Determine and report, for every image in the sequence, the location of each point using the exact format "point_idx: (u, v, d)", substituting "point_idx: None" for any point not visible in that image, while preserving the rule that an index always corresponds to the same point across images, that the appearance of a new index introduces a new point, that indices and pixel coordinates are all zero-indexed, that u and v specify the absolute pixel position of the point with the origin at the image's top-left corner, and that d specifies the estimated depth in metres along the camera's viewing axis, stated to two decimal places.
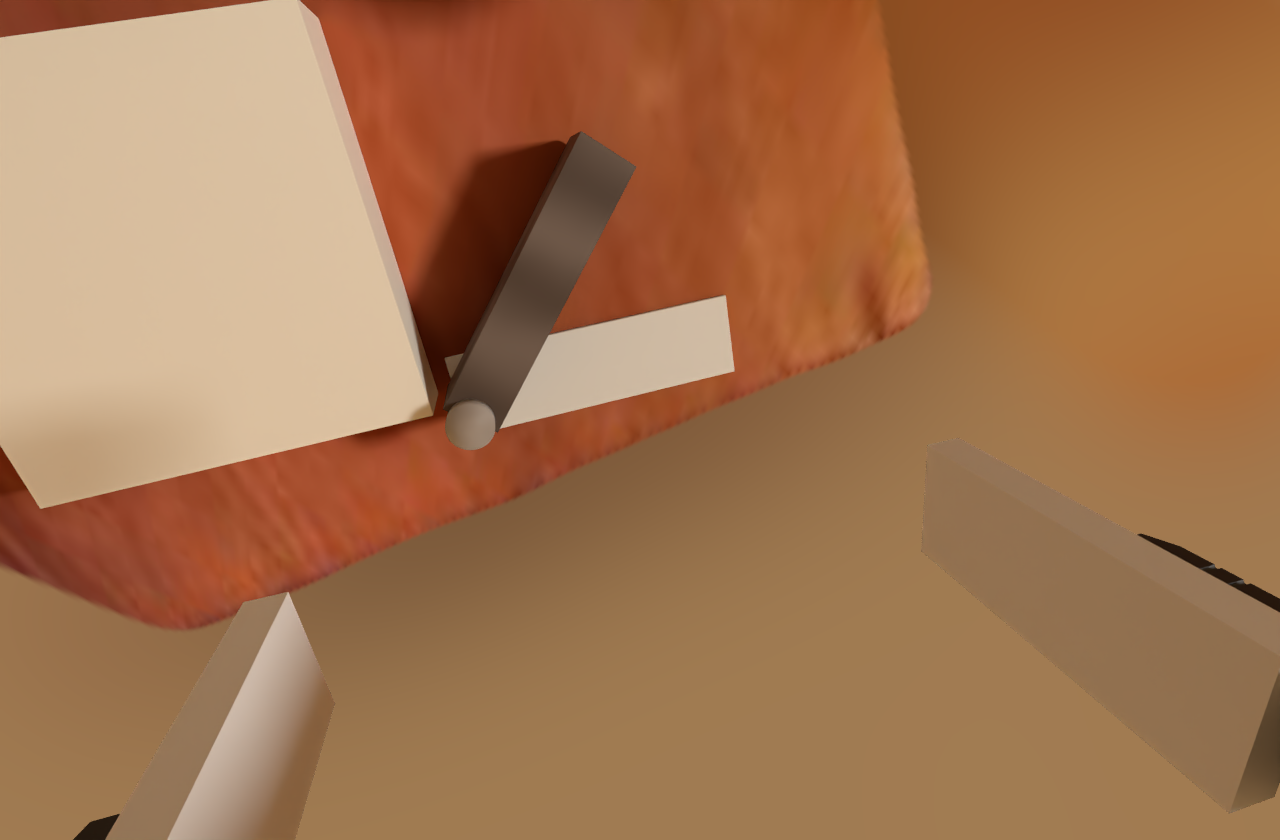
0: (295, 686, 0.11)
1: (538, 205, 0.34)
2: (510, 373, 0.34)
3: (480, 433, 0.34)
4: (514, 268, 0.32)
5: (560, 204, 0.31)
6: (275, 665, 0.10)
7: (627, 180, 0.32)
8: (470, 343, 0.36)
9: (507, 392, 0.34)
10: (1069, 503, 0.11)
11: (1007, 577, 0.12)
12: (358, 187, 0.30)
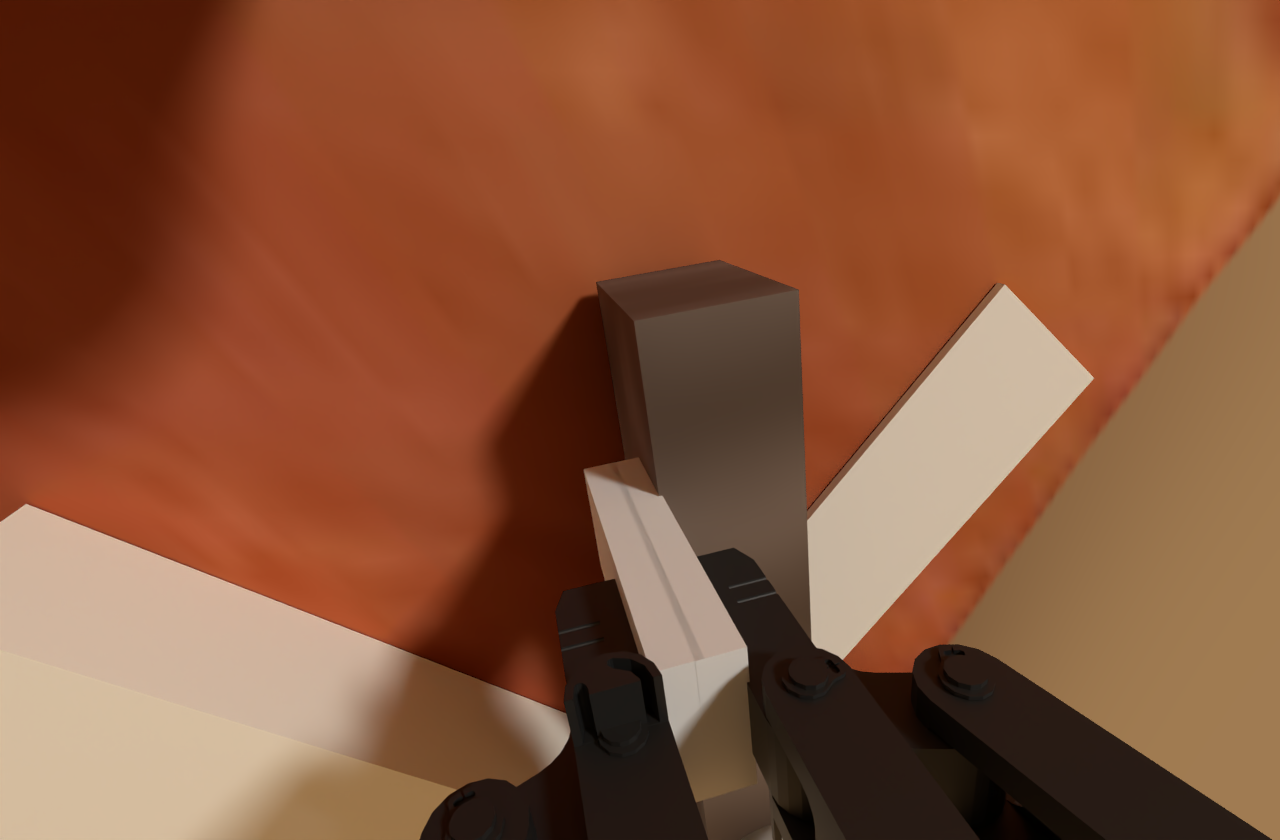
0: None
1: (630, 451, 0.16)
2: None
3: None
4: None
5: (690, 482, 0.13)
6: None
7: (796, 331, 0.12)
8: None
9: None
10: (674, 520, 0.12)
11: None
12: (307, 740, 0.14)
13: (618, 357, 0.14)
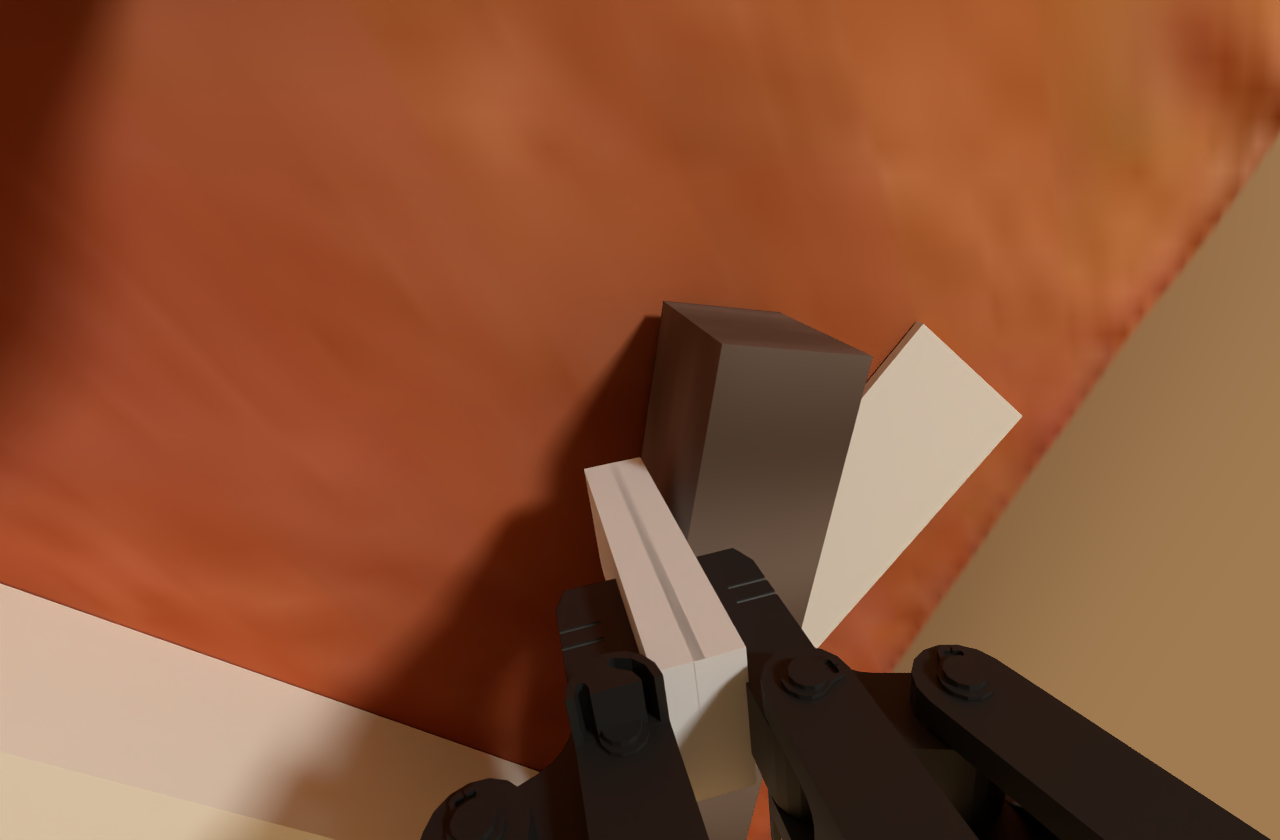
0: None
1: (653, 469, 0.16)
2: (722, 816, 0.16)
3: None
4: None
5: (724, 510, 0.13)
6: None
7: (859, 394, 0.13)
8: None
9: None
10: (673, 520, 0.12)
11: None
12: (184, 795, 0.14)
13: (673, 376, 0.15)
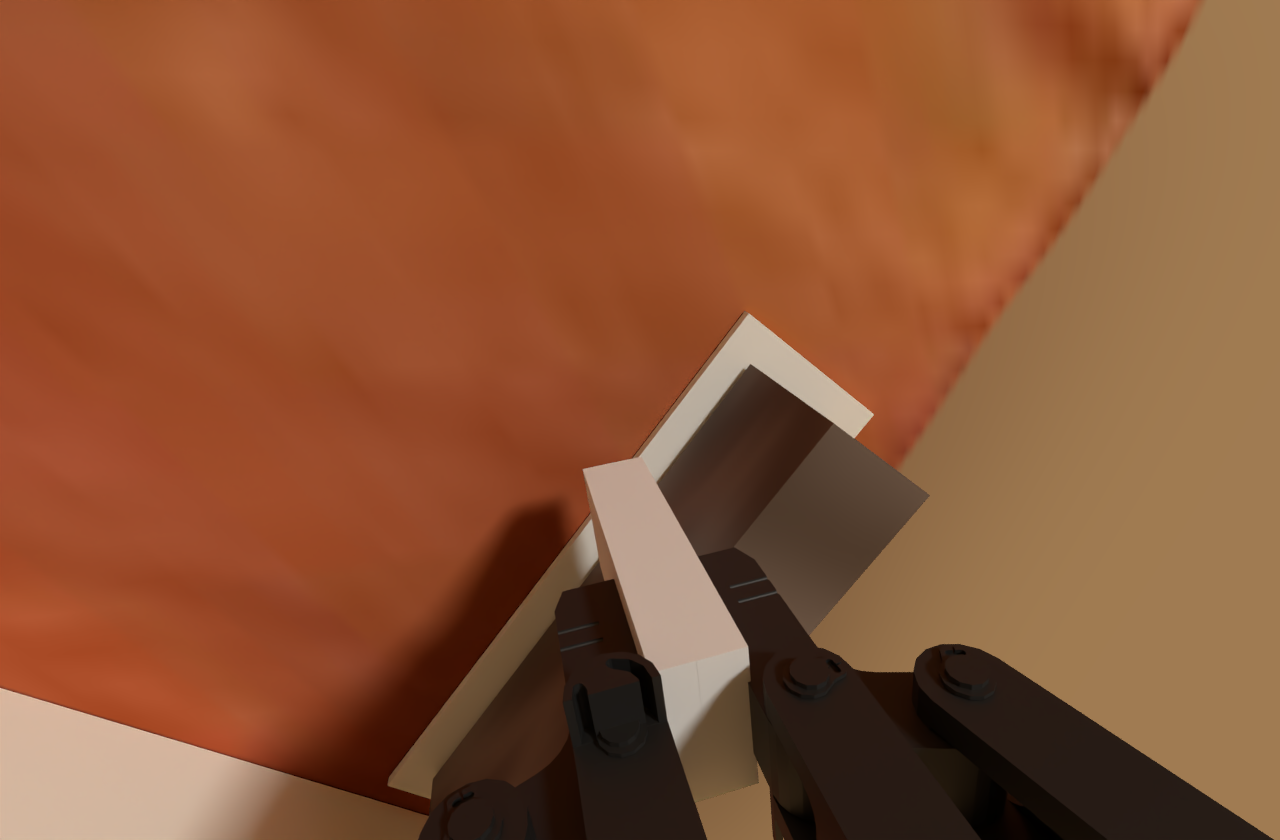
0: None
1: (672, 504, 0.16)
2: None
3: None
4: None
5: None
6: None
7: (903, 521, 0.14)
8: (489, 739, 0.18)
9: None
10: (674, 519, 0.12)
11: None
12: None
13: (742, 431, 0.15)
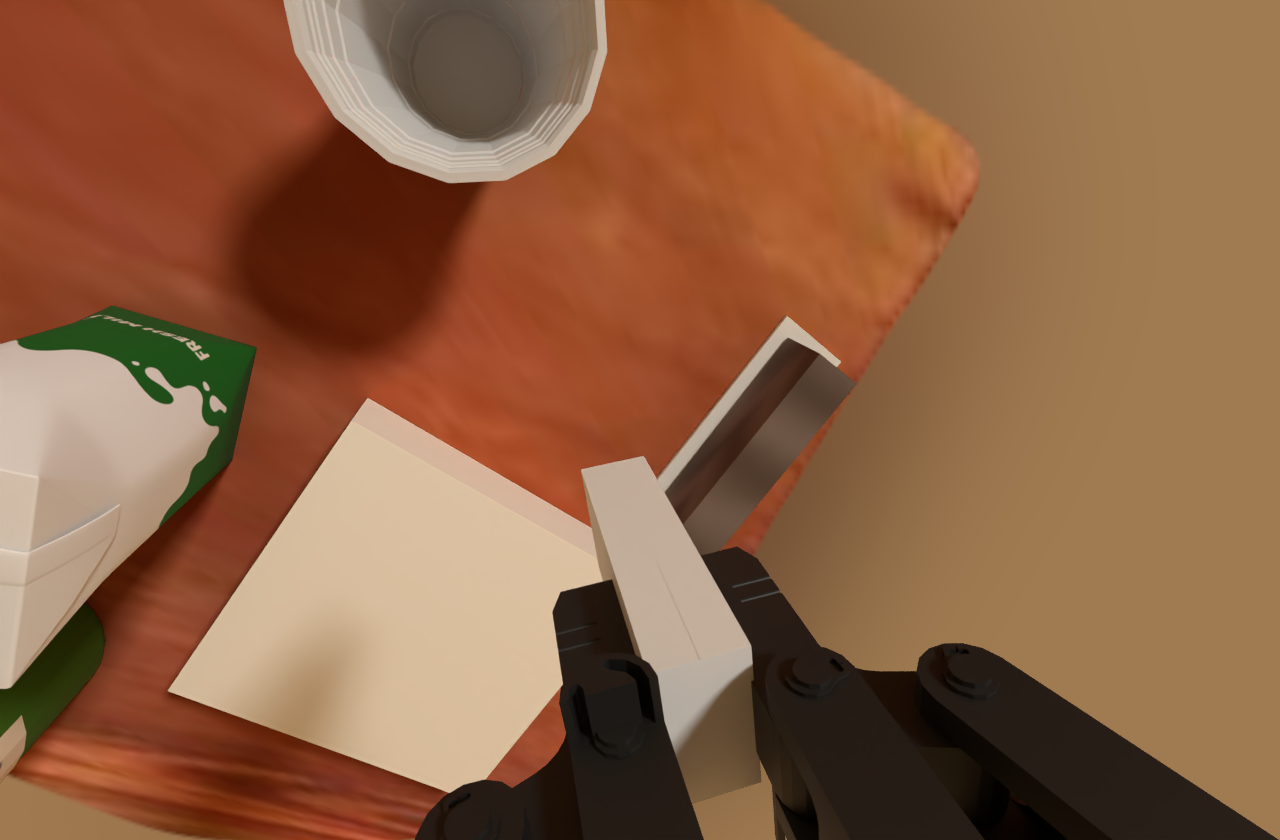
0: None
1: (755, 393, 0.39)
2: (714, 537, 0.39)
3: None
4: (740, 455, 0.37)
5: (789, 408, 0.37)
6: None
7: (847, 393, 0.37)
8: (672, 499, 0.41)
9: (708, 552, 0.39)
10: (677, 519, 0.12)
11: None
12: (480, 492, 0.36)
13: (785, 362, 0.38)
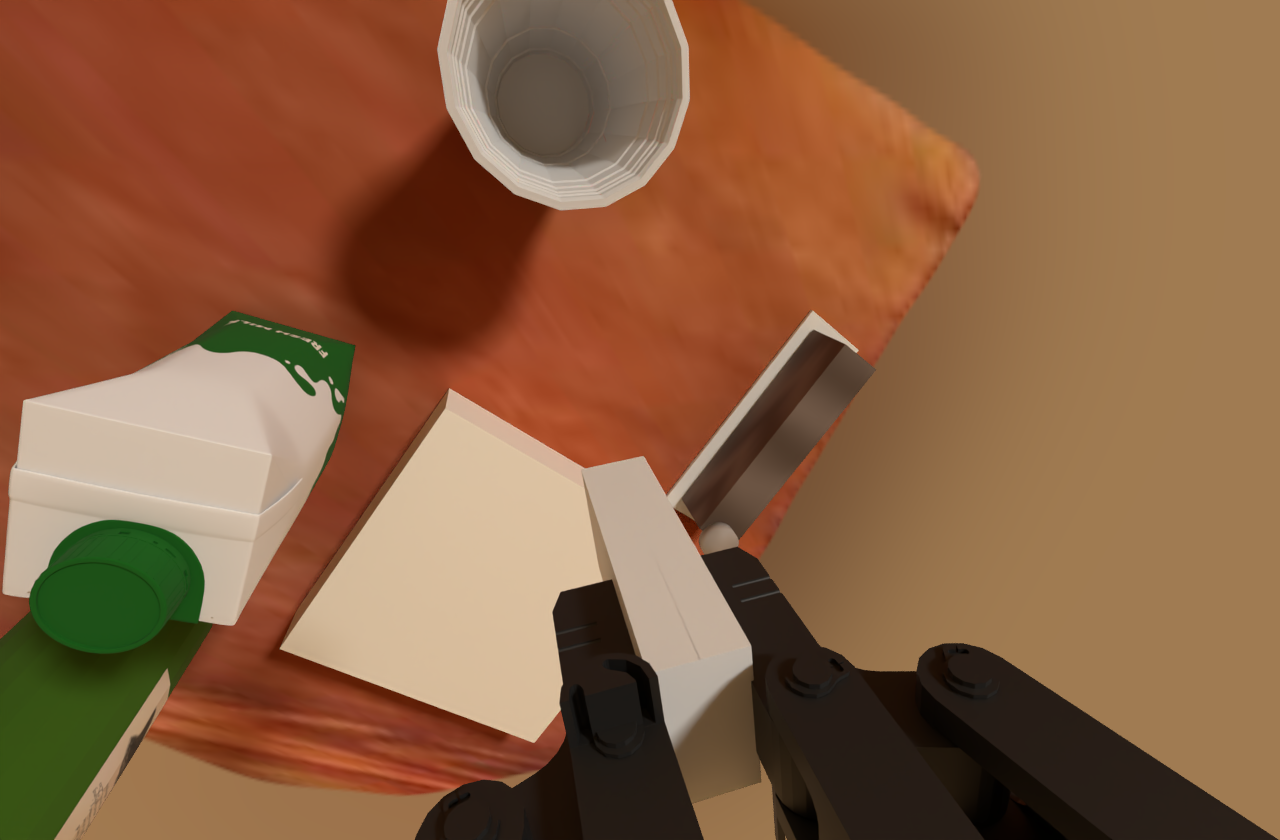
0: None
1: (786, 379, 0.45)
2: (753, 506, 0.44)
3: None
4: (776, 433, 0.42)
5: (819, 391, 0.42)
6: None
7: (867, 378, 0.43)
8: (712, 473, 0.46)
9: (747, 519, 0.44)
10: (677, 519, 0.12)
11: None
12: (552, 469, 0.41)
13: (812, 351, 0.44)
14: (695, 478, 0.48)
